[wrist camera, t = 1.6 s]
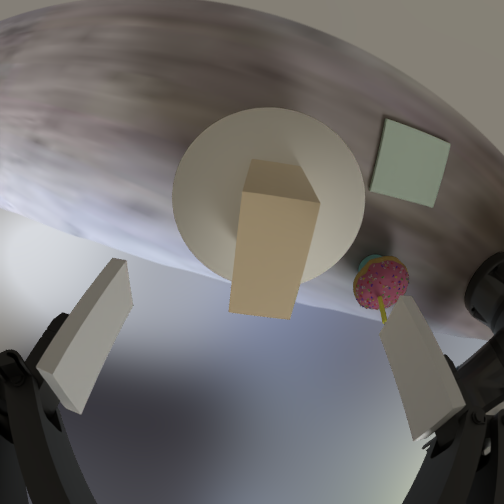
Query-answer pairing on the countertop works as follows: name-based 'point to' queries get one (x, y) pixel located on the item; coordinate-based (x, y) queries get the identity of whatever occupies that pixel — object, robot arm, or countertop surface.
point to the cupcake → (380, 282)
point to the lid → (268, 204)
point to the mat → (409, 164)
